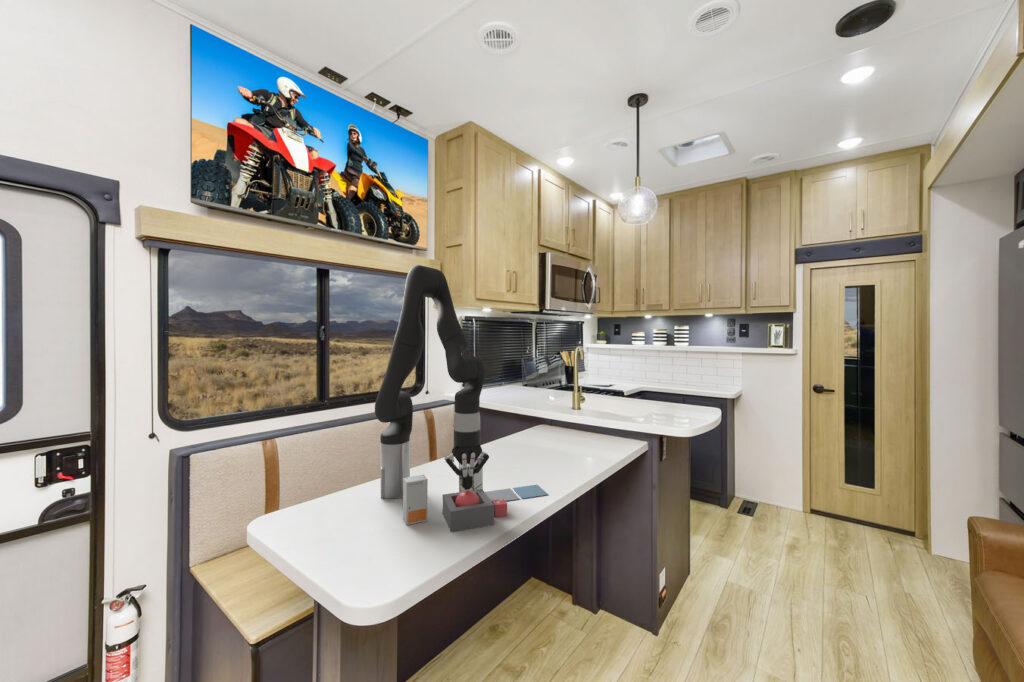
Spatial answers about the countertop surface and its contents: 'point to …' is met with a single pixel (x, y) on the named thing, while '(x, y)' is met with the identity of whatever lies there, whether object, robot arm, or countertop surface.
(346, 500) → the countertop surface
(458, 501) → the red ball
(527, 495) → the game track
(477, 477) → the syrup box
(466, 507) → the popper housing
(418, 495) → the skincare box
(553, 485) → the countertop surface
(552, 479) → the countertop surface
